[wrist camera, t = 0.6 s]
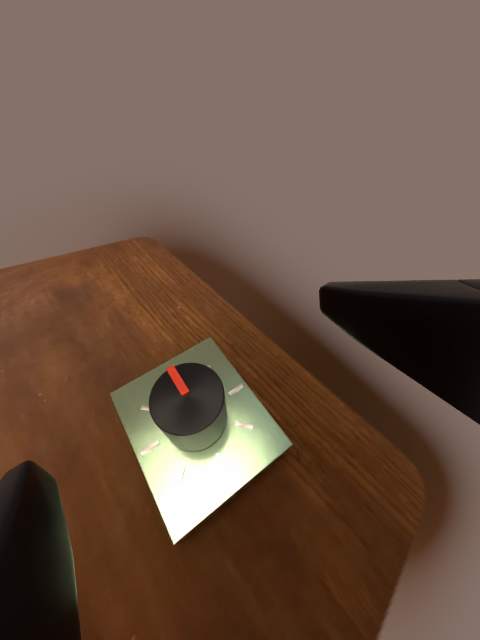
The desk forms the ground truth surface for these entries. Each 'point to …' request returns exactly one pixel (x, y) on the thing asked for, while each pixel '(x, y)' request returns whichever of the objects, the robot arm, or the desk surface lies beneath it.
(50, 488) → the robot arm
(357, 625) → the desk surface
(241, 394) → the dial panel
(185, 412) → the pointer wheel
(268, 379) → the desk surface
